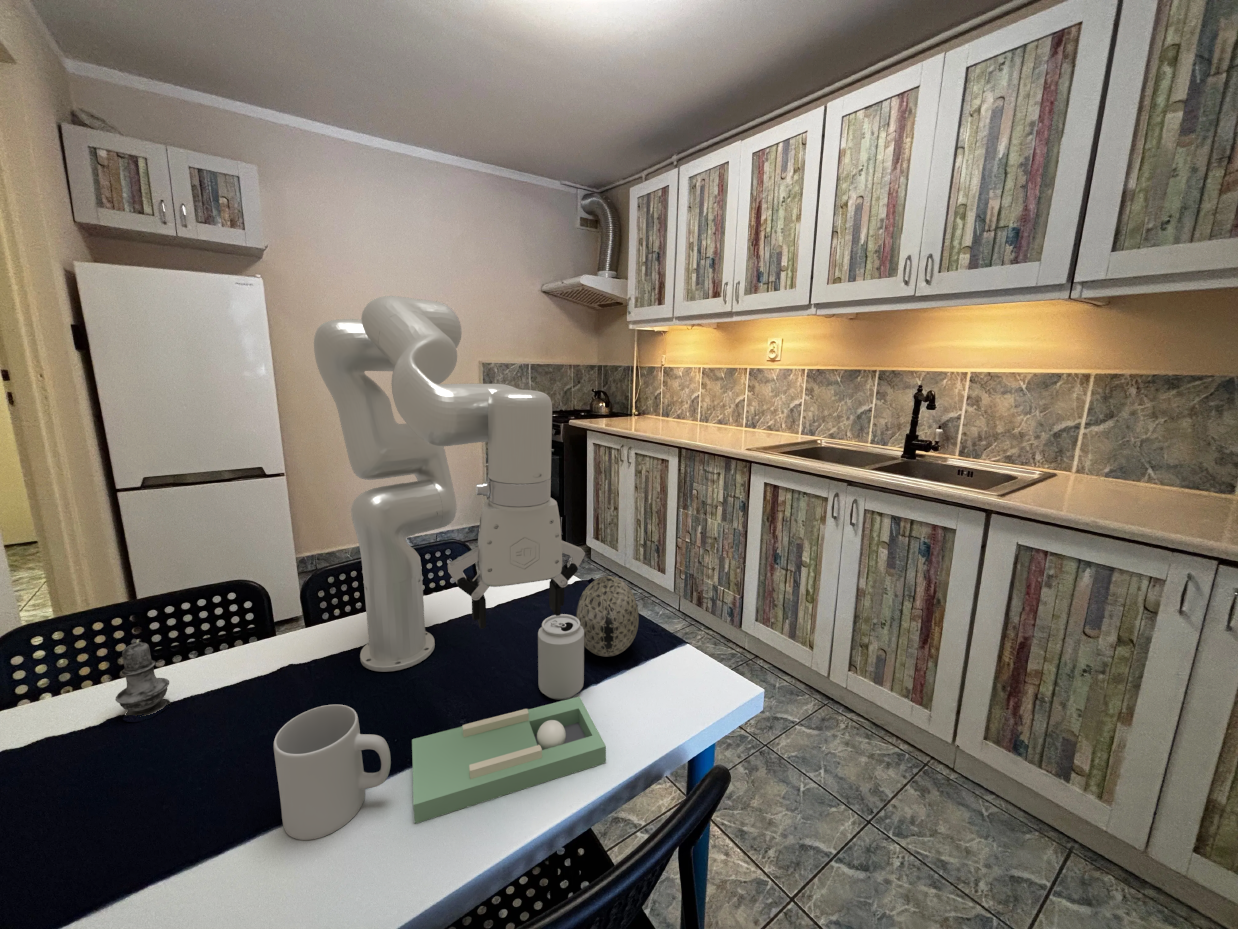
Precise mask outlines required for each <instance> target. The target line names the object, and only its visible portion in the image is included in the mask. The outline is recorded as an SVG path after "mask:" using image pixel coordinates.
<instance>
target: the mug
mask: <svg viewBox="0 0 1238 929" xmlns="http://www.w3.org/2000/svg"><path fill="white" fill-rule="evenodd" d="M364 750H373V751H375V752H376V753H377V754H378V757H379V760H380V769H379V771H376V772H367V771H365V770H364V763H363V754H362V751H364ZM273 753H274V761H275V767H276V768H275V769H276V776H277V782H278V784H277V785H278V791H279V799H280V800H279V801H280V809H281V810H280V811H281V819H282V826H283V829H284V831H285V833H286V834H287V835H288V836H290V837H291V838H293V839H296V840H299V841H309V840H310V841H311V840H316V839H321V838H323V837H326V836H328V835H330V834H332V833H335V832H336V831H338V830H340V829H342V827H344V826H345V825H347V824H348V823H349V822H350V821H351V820H352V819H353V818H355V817H356V815H357V814H358V813H359V811H360V809H361V808H362V806H363V804H364V801H365V799H366V798H365V797H366V789H367V790H368V789H372V788H377V787H380V785H383V784H384V783H385V781H387V779H388V776H389V774H390V770H391V764H392V761H391V759H392V758H391V751H390V748H389V744H388V743H387V741H386V739H385V738H384V737H382V736H381V735H378V734H370V733H369V734H366V733H365V734H363V733H361V730H360V723H359V717H358V713H357V712H356V710H355V709H354V708H352V707H350V706H348V705H345V704H344V705H343V704H328V705H321V706H317V707H314V708H311V709H308V710H307V711H304V712H302V713H300V714H298V715H296V716H295V717H293V718H291V719H290V720H288V721H287V722H286V723H285V724H284V725H283V726H282V727H281V728H280V729H279V730H278V731H277V733H276V735H275V738H274V741H273Z"/></svg>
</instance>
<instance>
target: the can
mask: <svg viewBox="0 0 1238 929" xmlns="http://www.w3.org/2000/svg"><path fill="white" fill-rule="evenodd" d="M537 656H538V658H537V662H538V663H537V666H538V667H537V670H538V678H537V679H538V688H539V689H538V690H540V692H541V693H542V694H544V695H545V696H546V697H548V698H549V699H553V700H556V701H557V700H560V701H564V700H568V699H571V698H572V697H574V696H575V695H576V694H577V693H579V692H580V691H581V690H582V689H583V687H584V681H585V676H584V675H585V646H584V629H583V627H582V626H581V625H580V621H579V619H577V618H576V616H574V615H572V614H567V613H566V614H565V613H564V614H563V613H561V614H560V615H559V616H556V615H554V614H552V615H551V616H548V617H547V618H545V619H543V621H542V623H541V627H540V628H539V629H538V632H537Z"/></svg>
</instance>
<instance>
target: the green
mask: <svg viewBox="0 0 1238 929" xmlns="http://www.w3.org/2000/svg"><path fill="white" fill-rule="evenodd" d="M549 720H556V721H558V722H560V723H561V724H562V725H563V727H564V729H565V732H566V739H565V742H564V744H562V745H559V746H555V747H552V748H549V749H545V750H542V749H541V746H540V745H538V742H537V732H538V730H539V728H540V726H541V725H542V724H543V723H544V722H546V721H549ZM411 750H412V751H411V752H412V753H411V755H412V757H411V758H412V761H411V762H412V795H413V796H412V797H413V817H414V825H415V824H418V823H422V822H425V821H428V820H431V819H435V818H438V817H441V816H444V815H446V814H450V813H453V812H456V811H459V810H463V809H466V808H468V807H471V806H474V805H478V804H481V803H485V802H487V801H491V800H494V799H497V798H499V797H503V796H507V795H509V794H513V793H515V792H519V791H521V790H525V789H527V788H531V787H534V786H538V785H541V784H544V783H546V782H551V781H553V780H556V779H560V778H563V777H565V776H566V777H567V776H569V775H572V774H575V773H579V772H582V771H585V770H588V769H591V768H593V767H597V766H601V765H604V764H606V762H607V759H606V758H607V746H606V743H605V741H604V740H603V738H602V736H601V734H600V732H599V730H598V728H597V727H596V724H595V723H594V721H593V719H592V717H591V715H590V714H589V712H588V710H587V708H586V705H585V704H584V701H583V700H582V698H581V696H576V697H573V698H572V697H570V698H568V699H563V700H560V701H556V702H553V703H548V704H545V705H544V704H543V705H540V706H537V707H534V708H523V709H519V710H516V711H512V712H508V713H504V714H500V715H496V716H492V717H488V718H483V719H479V720H477V721H473V722H469V723H465V724H462V726H458V727H455V728H450V729H447V730H442V731H439V732H436V733H432V734H428V735H424V736H420V737H416V738H413V739H411Z"/></svg>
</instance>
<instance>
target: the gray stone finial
mask: <svg viewBox="0 0 1238 929" xmlns="http://www.w3.org/2000/svg"><path fill="white" fill-rule="evenodd" d="M130 643H131V644H130V645H128V646H127V647H125V648H124V649H123V650H122V652H121V653H122V654H121V656H122V662H123V666H124V668H123V669H122V670H121V674H122V675H124V676H125V681H126V687H125V688H123V689H122V690H121V691H119V692H118V693H117V695H116V696H115V702H116V703H118V704H119V705H120V706H121V707H122V708H123V710H124V711H125V710H126V712H127V713H126V712H125V713H126V716H127V715H135V716H137V715H142V714H144V715H142V716H146V715H150V714H153V713H156V712H157V711H159V710H161V709H163V708H164V707H165V706H166V705H168V704H170V705H171V701H170V699H167V698H165V697H166V694H167V692H168V686H169V685H170V680H169V679H168V678H165V677H157V675H156V674H155V669H154V666H155V665H156V660H153V659H152V656H151V649H150V646H149V644H148V643H146V642H138V639H136V638H132V639H131V641H130ZM140 717H141V716H140Z"/></svg>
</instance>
